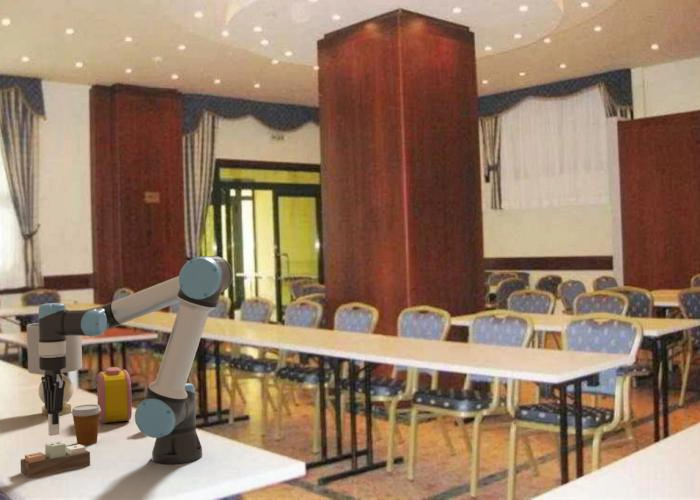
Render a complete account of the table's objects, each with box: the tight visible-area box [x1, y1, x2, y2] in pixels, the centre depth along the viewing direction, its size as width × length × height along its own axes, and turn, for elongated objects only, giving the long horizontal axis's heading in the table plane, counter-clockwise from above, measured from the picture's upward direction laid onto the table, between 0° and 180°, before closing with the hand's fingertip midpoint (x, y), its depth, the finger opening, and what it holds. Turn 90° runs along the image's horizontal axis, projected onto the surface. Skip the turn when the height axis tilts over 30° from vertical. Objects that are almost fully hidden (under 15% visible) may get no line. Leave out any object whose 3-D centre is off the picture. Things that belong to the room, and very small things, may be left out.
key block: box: [20, 449, 91, 479], centre depth 234 cm, size 7×18×4 cm, turn 131°
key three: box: [24, 451, 46, 463], centre depth 231 cm, size 4×4×5 cm
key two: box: [44, 440, 67, 459], centre depth 234 cm, size 4×4×5 cm
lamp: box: [26, 322, 83, 417], centre depth 311 cm, size 20×20×35 cm
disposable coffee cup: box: [71, 403, 101, 446], centre depth 264 cm, size 10×10×12 cm
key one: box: [66, 444, 87, 455], centre depth 238 cm, size 4×4×5 cm
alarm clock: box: [96, 366, 133, 424], centre depth 297 cm, size 18×11×19 cm, turn 22°
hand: (54, 434), depth 234 cm, fingers closed
